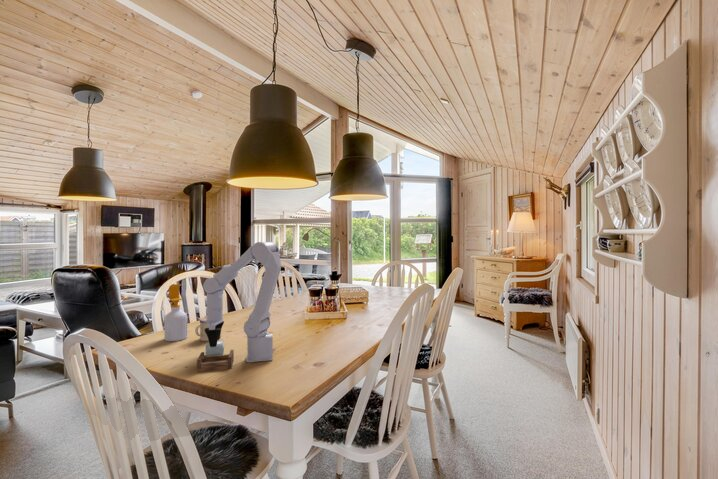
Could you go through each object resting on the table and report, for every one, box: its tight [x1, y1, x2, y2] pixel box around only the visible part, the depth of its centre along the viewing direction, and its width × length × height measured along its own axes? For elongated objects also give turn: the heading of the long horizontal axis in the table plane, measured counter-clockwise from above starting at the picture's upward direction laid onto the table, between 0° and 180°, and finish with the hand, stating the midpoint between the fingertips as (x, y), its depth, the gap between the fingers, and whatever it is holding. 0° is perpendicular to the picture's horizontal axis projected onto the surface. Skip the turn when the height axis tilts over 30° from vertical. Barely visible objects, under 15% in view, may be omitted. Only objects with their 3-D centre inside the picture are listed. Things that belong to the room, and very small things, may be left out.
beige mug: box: [194, 314, 222, 342], centre depth 153 cm, size 12×9×12 cm
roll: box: [205, 340, 225, 356], centre depth 133 cm, size 6×5×5 cm
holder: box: [196, 349, 235, 373], centre depth 122 cm, size 11×8×4 cm
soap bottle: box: [163, 283, 188, 342], centre depth 154 cm, size 9×9×25 cm
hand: (214, 343), depth 133 cm, fingers open, 7 cm apart
